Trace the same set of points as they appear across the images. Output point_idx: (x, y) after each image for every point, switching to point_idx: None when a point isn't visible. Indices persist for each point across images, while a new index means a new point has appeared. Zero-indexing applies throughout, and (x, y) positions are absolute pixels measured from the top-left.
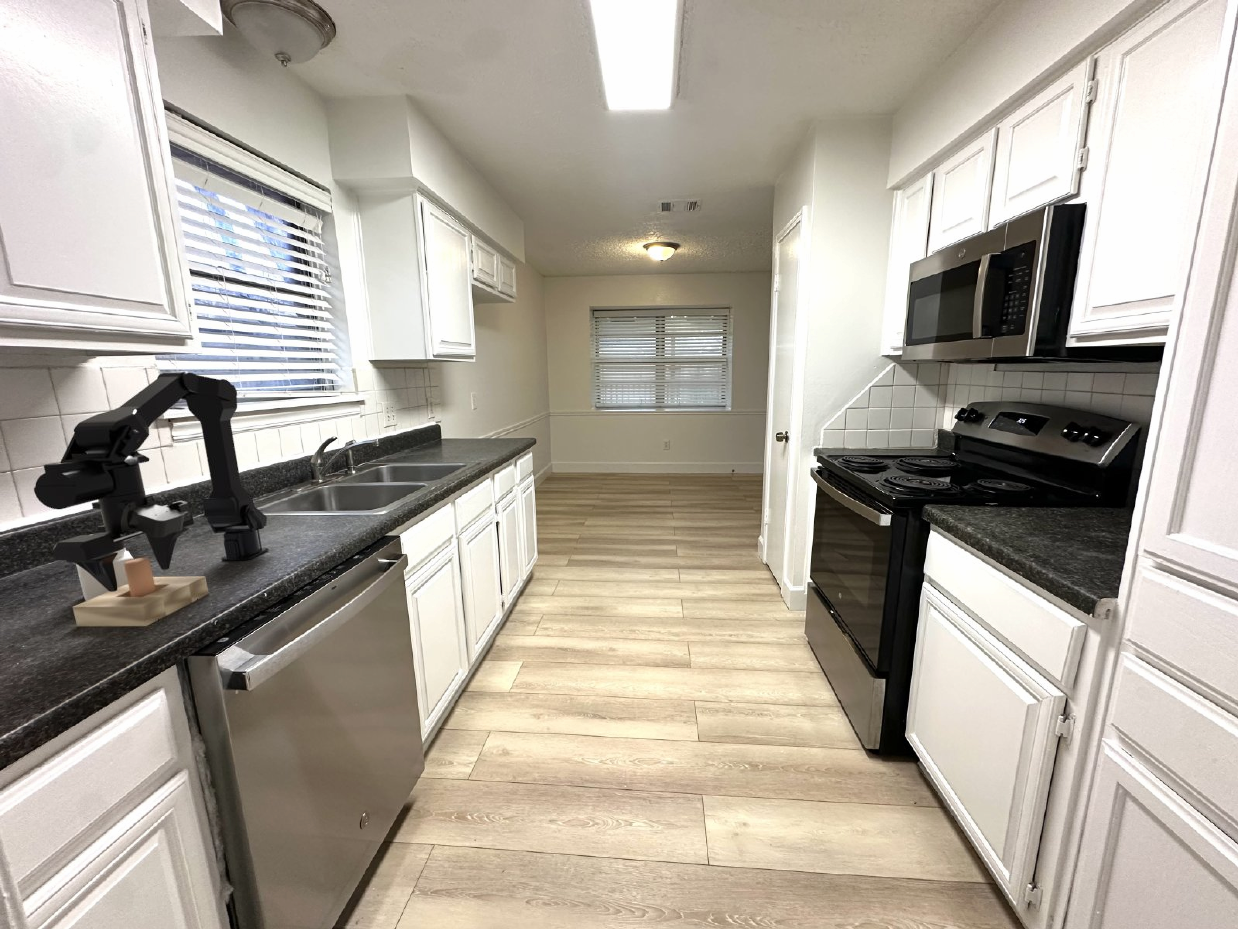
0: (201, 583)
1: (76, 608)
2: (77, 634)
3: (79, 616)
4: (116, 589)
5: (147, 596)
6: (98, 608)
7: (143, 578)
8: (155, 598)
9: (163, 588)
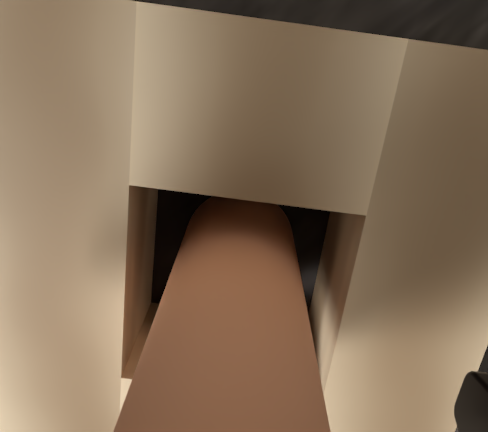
0: None
1: None
2: (484, 358)
3: None
4: (482, 376)
5: (369, 181)
6: None
7: (284, 318)
8: (439, 72)
9: (210, 176)
